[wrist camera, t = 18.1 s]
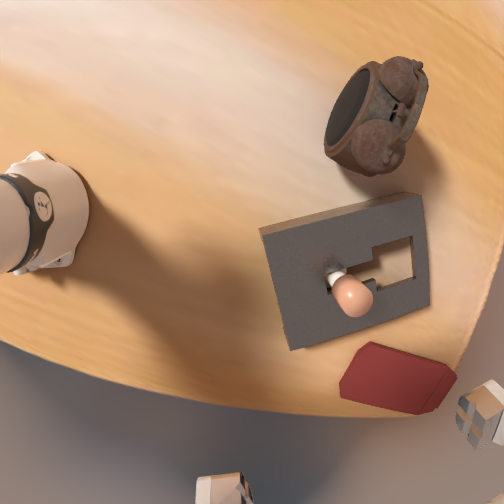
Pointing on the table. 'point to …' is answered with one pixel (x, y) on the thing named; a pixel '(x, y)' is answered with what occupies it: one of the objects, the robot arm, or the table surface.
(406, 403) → the carton
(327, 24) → the table surface
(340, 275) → the peg
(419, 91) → the alarm clock
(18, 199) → the robot arm
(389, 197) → the keyhole board
